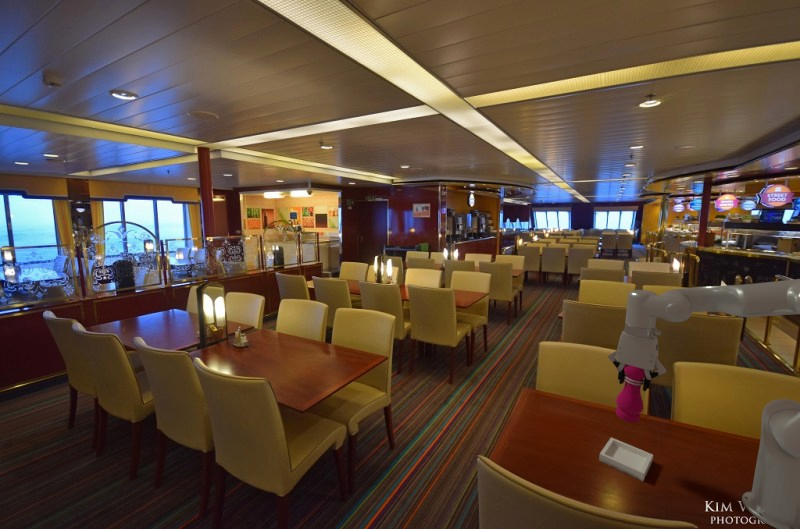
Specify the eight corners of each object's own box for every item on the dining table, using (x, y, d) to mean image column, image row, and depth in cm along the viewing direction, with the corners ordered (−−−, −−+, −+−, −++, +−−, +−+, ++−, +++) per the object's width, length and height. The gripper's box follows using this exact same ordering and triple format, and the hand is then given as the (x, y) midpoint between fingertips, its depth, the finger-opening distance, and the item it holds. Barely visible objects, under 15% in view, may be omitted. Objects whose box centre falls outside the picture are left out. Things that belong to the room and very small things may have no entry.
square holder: (652, 461, 111) (653, 454, 111) (643, 481, 103) (644, 473, 103) (610, 443, 120) (611, 437, 120) (599, 460, 112) (599, 453, 111)
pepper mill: (609, 412, 112) (618, 355, 108) (623, 407, 115) (632, 351, 111) (631, 425, 105) (642, 365, 101) (646, 420, 108) (657, 361, 104)
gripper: (677, 334, 101) (669, 392, 104) (611, 321, 114) (606, 373, 116) (672, 341, 96) (664, 401, 99) (604, 326, 109) (599, 380, 111)
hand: (633, 385), depth 108 cm, fingers closed on pepper mill, 5 cm apart
